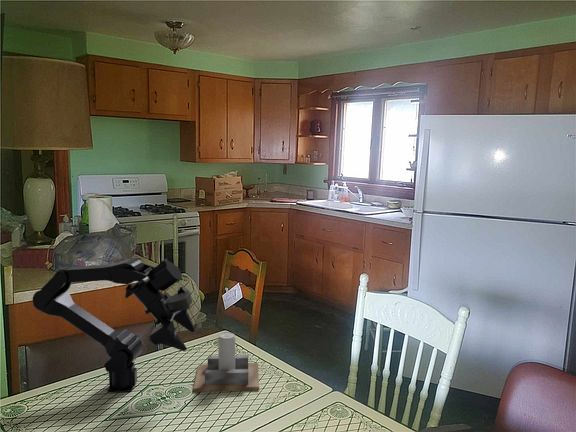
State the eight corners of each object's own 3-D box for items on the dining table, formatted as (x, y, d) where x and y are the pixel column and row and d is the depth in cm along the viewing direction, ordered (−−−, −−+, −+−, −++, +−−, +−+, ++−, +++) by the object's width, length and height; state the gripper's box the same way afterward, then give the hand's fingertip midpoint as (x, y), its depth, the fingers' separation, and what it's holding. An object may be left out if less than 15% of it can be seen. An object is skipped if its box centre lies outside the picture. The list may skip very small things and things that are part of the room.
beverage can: (226, 380, 132) (226, 340, 130) (215, 374, 135) (214, 335, 133) (238, 373, 136) (238, 334, 134) (226, 368, 139) (226, 330, 137)
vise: (193, 391, 128) (193, 376, 127) (199, 365, 143) (198, 351, 142) (259, 390, 129) (259, 374, 129) (257, 364, 144) (257, 350, 144)
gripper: (164, 300, 115) (204, 345, 118) (184, 268, 132) (218, 308, 136) (131, 323, 117) (171, 366, 121) (155, 289, 135) (189, 327, 138)
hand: (189, 340), depth 129 cm, fingers open, 9 cm apart
